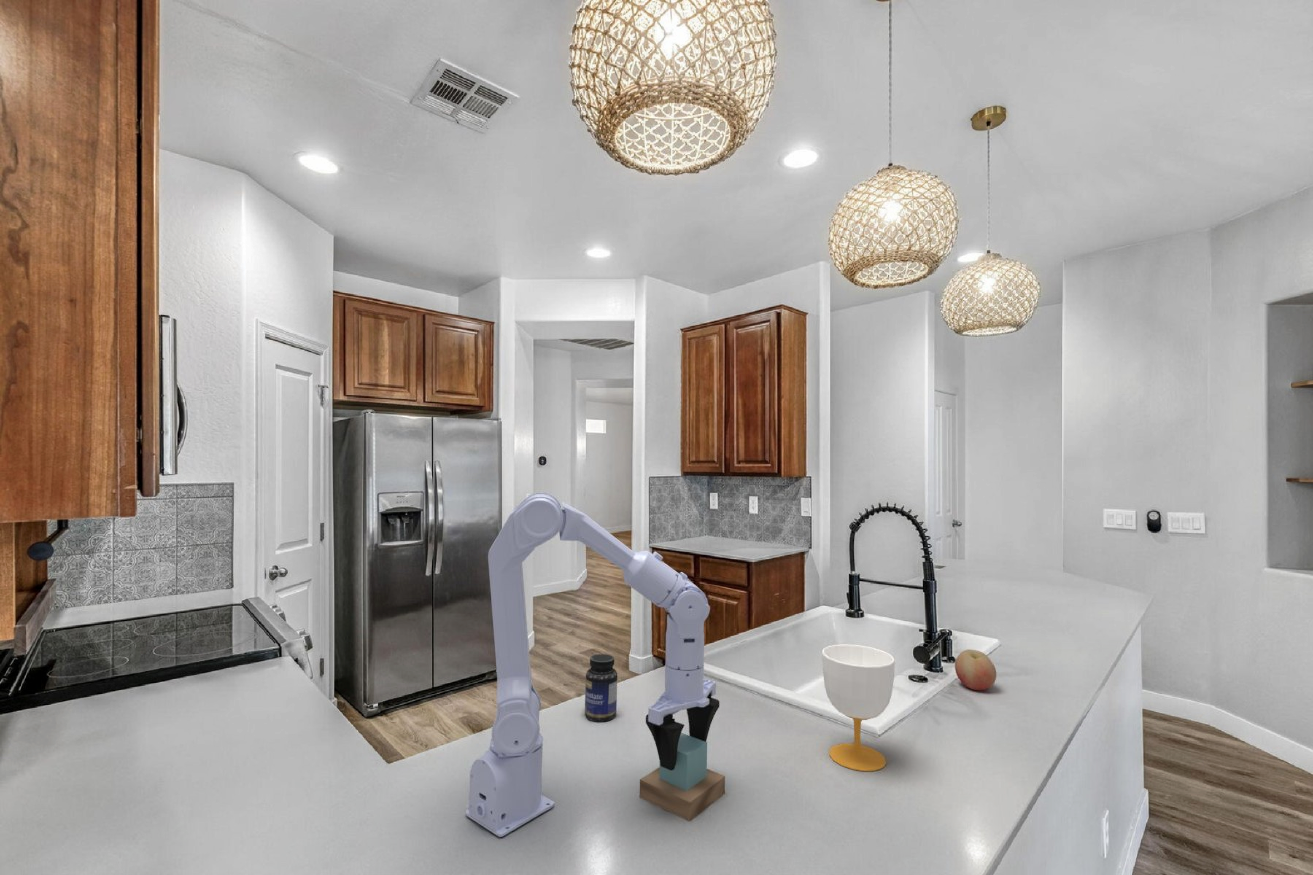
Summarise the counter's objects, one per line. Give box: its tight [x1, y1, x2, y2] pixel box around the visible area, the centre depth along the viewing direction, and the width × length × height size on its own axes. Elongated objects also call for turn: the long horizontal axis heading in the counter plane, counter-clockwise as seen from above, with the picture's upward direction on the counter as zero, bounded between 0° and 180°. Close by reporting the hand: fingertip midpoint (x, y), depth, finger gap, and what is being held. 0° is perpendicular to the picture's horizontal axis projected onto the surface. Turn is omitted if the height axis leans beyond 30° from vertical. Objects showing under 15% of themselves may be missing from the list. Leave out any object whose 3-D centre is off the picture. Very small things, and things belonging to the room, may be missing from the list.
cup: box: [821, 643, 896, 772], centre depth 99 cm, size 12×12×17 cm
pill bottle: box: [584, 653, 618, 722], centre depth 114 cm, size 6×6×11 cm
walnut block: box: [638, 767, 726, 822], centre depth 87 cm, size 9×9×3 cm
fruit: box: [954, 649, 997, 691], centre depth 132 cm, size 8×8×8 cm
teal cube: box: [658, 732, 708, 791], centre depth 87 cm, size 5×5×5 cm
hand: (683, 757), depth 87 cm, fingers open, 7 cm apart
